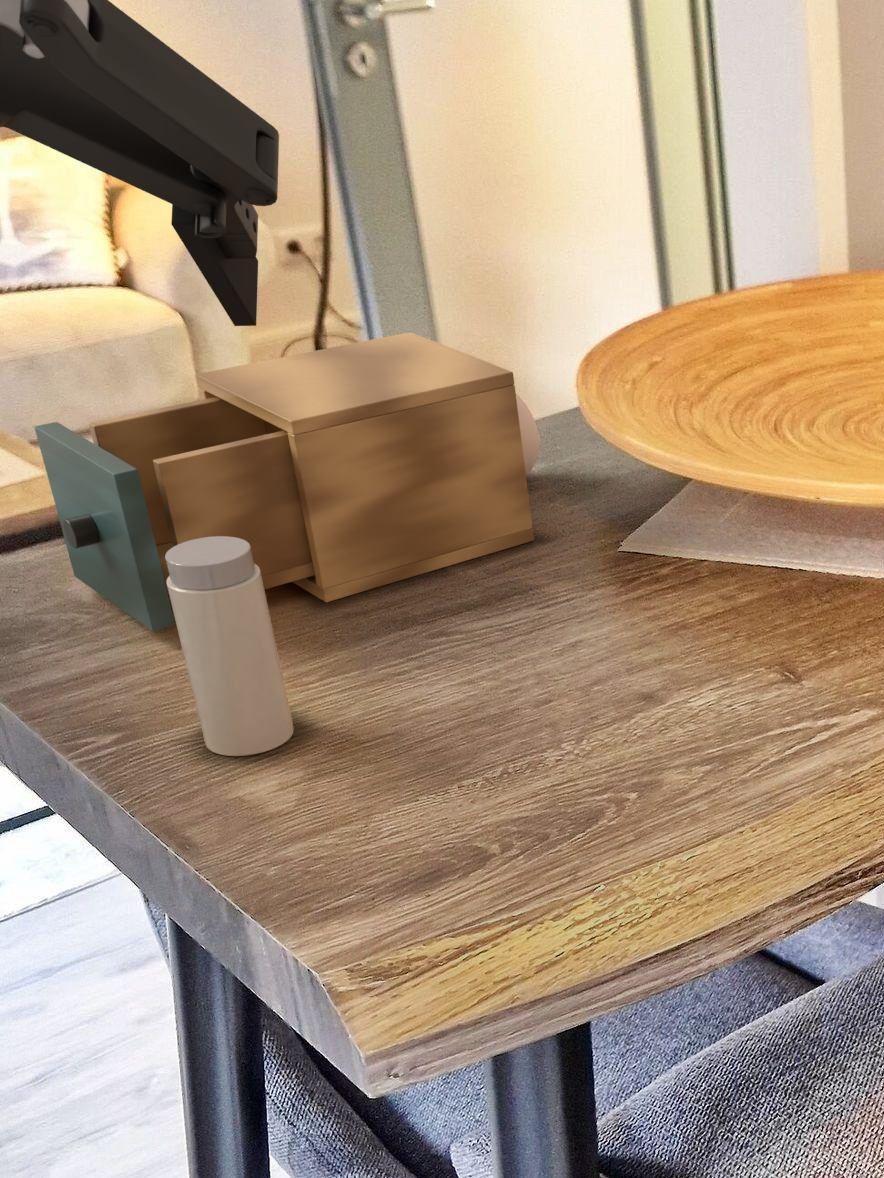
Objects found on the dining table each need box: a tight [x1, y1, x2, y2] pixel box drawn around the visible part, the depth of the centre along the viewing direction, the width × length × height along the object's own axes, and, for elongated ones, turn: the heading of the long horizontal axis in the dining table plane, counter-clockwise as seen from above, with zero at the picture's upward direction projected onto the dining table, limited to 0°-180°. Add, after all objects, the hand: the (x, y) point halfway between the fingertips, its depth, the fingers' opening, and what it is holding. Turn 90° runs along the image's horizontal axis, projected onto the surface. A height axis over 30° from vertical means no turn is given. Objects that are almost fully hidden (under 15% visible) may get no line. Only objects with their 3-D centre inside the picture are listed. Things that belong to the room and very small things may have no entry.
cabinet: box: [195, 331, 535, 603], centre depth 101 cm, size 14×12×11 cm
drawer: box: [33, 397, 315, 633], centre depth 95 cm, size 14×10×9 cm
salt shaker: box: [165, 536, 295, 757], centre depth 80 cm, size 4×4×10 cm
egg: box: [516, 393, 540, 477], centre depth 112 cm, size 5×5×7 cm
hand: (50, 296), depth 62 cm, fingers open, 13 cm apart
